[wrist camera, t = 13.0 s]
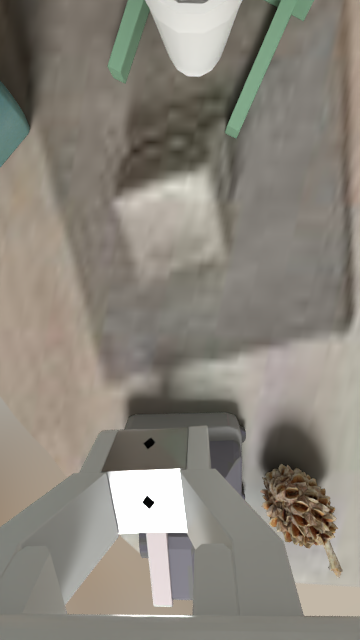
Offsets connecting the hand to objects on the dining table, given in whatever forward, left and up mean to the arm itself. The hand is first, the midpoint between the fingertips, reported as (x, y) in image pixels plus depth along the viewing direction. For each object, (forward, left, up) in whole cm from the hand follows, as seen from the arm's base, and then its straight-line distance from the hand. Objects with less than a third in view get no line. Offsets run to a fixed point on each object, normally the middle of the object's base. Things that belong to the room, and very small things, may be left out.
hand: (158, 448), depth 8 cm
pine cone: (-15, +38, -34) cm, 53 cm away
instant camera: (+4, +31, -34) cm, 46 cm away
